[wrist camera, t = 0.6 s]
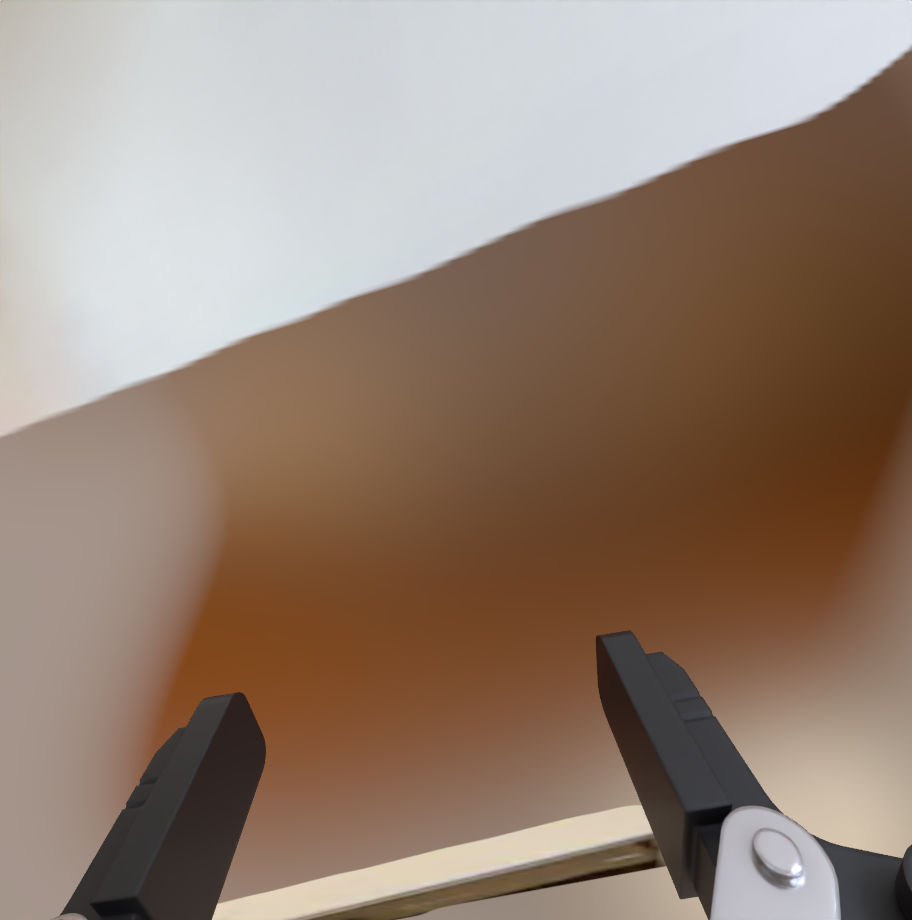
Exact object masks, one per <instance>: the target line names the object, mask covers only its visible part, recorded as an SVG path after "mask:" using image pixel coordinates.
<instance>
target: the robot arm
mask: <svg viewBox="0 0 912 920" xmlns="http://www.w3.org/2000/svg"><path fill="white" fill-rule="evenodd" d="M596 654H597V655H596V656H597V674H598V688H599V694H600V699H601V703H602V706H603V709H604V712H605V715H606V718H607V720H608V723H609V725H610V728H611V730H612V733H613V735H614V737H615V740H616V742H617V745H618V747H619V750H620V752H621V755H622V757H623V760H624V762H625V765H626V767H627V769H628V772H629V775H630V777H631V779H632V782H633V784H634V787H635V789H636V791H637V794H638V797H639V799H640V802H641V804H642V807H643V809H644V811H645V814H646V816H647V819H648V821H649V824H650V826H651V829H652V831H653V834H654V836H655V839H656V841H657V843H658V846H659V848H660V851H661V853H662V856H663V858H664V861H665V863H666V866H667V868H668V871H669V873H670V875H671V878H672V880H673V883H674V885H675V888H676V890H677V893H678V895H679V898H680V899H686V898H692V897H699V899H700V901H701V904H702V906H703V908H704V911H705V913H706V915H707V918H708V920H912V845H911V846H910V847H909V848H908V849H907V850H906V852H905V854H904V857H903V858H898V857H893V856H888V855H883V854H878V853H873V852H869V851H863V850H859V849H854V848H849V847H843V846H840V845H836V844H833V843H830V842H828V841H825V840H822V839H820V838H818V837H816V836H814V835H812V834H810V833H809V832H807V830H806V829H804V828H803V827H802V826H801V825H799V824H798V823H797V822H795V821H794V820H792V819H791V818H789V817H788V816H785V815H784V814H783V813H782V812H781V811H780V810H779V809H778V808H777V807H776V806H775V805H774V804H773V803H772V801H771V800H770V799H769V797H768V796H767V794H766V793H765V792H764V790H763V789H762V787H761V786H760V784H759V782H758V781H757V779H756V778H755V776H754V775H753V774H752V772H751V770H750V769H749V767H748V766H747V764H746V763H745V761H744V760H743V758H742V757H741V755H740V754H739V752H738V751H737V749H736V748H735V746H734V744H733V743H732V742H731V740H730V738H729V737H728V735H727V734H726V732H725V731H724V729H723V728H722V726H721V725H720V723H719V722H718V720H717V719H716V717H714V716H713V715H712V711H711V710H710V708H709V707H708V705H707V703H706V702H705V700H704V699H703V697H701V696H700V694H699V691H698V690H697V688H696V687H695V685H694V684H693V682H692V681H691V679H690V678H689V676H688V675H687V673H686V672H685V670H684V669H683V668H682V667H680V666H679V665H678V664H677V663H675V662H674V661H673V660H672V659H670V658H669V657H668V656H667V655H665V654H664V653H663V652H657V653H651V654H645V652H644V650H643V649H642V647H641V645H640V644H639V642H638V640H637V639H636V637H635V635H634V634H633V633H632V632H631V631H623V632H617V633H611V634H605V635H599V636H597V637H596ZM265 757H266V746H265V740H264V737H263V734H262V732H261V730H260V728H259V725H258V723H257V721H256V719H255V716H254V714H253V712H252V710H251V708H250V705H249V703H248V701H247V699H246V697H245V695H244V694H243V693H240V692H238V693H233V694H226V695H220V696H214V697H208V698H205V699H203V700H202V701H201V702H200V704H199V705H198V707H197V708H196V710H195V712H194V714H193V716H192V717H191V719H190V721H189V723H188V725H187V727H185V728H179V729H178V730H177V731H176V732H175V733H174V734H173V735H172V736H171V737H170V738H169V739H168V740H167V741H166V742H165V744H164V745H163V746H162V747H161V748H160V749H159V750H158V751H157V752H156V753H155V755H154V757H153V759H152V760H151V762H150V764H149V765H148V767H147V769H146V771H145V772H144V774H143V776H142V777H141V779H140V784H139V786H136V788H135V789H134V791H133V793H132V794H131V796H130V798H129V800H128V801H127V803H126V808H125V809H124V810H122V812H121V813H120V815H119V817H118V818H117V820H116V822H115V824H114V825H113V827H112V829H111V830H110V832H109V834H108V835H107V837H106V839H105V841H104V842H103V844H102V846H101V847H100V849H99V851H98V853H97V854H96V856H95V858H94V859H93V861H92V863H91V865H90V866H89V868H88V870H87V872H86V873H85V875H84V877H83V878H82V880H81V882H80V884H79V885H78V887H77V889H76V890H75V892H74V894H73V895H72V897H71V899H70V900H69V902H68V904H67V905H66V907H65V908H64V910H63V912H62V913H61V914H60V916H58V917H56V918H54V919H52V920H212V917H213V914H214V911H215V908H216V905H217V902H218V900H219V897H220V894H221V891H222V888H223V885H224V882H225V879H226V876H227V873H228V870H229V868H230V865H231V862H232V859H233V856H234V853H235V850H236V847H237V844H238V841H239V838H240V836H241V833H242V830H243V827H244V824H245V821H246V818H247V815H248V812H249V809H250V806H251V804H252V801H253V798H254V795H255V792H256V789H257V786H258V783H259V780H260V777H261V774H262V772H263V768H264V764H265Z"/></svg>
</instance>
